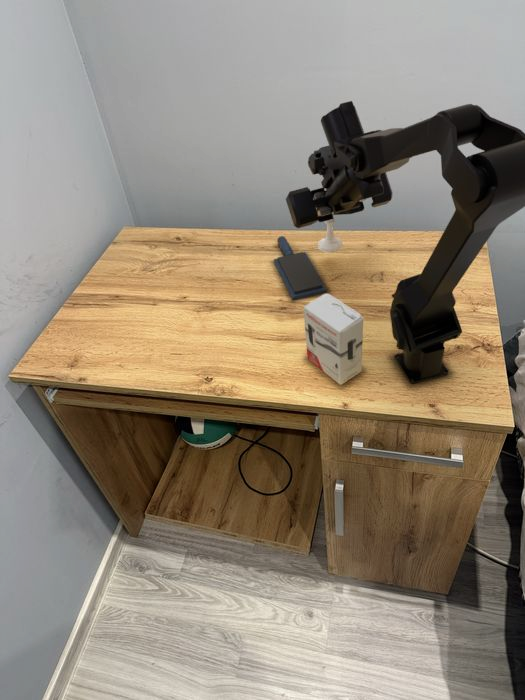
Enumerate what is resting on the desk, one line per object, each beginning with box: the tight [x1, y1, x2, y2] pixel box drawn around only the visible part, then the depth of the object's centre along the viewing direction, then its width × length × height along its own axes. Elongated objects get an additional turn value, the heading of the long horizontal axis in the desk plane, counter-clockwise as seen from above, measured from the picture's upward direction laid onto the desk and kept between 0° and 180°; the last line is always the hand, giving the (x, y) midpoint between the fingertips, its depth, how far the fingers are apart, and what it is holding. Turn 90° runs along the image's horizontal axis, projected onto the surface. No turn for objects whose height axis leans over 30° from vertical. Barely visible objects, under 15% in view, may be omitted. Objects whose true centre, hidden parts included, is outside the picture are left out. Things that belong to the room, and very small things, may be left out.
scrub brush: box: [273, 235, 328, 301], centre depth 104 cm, size 21×7×2 cm, turn 14°
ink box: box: [302, 292, 364, 386], centre depth 79 cm, size 8×5×12 cm, turn 37°
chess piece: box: [317, 212, 344, 254], centre depth 97 cm, size 5×5×10 cm
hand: (326, 213), depth 97 cm, fingers closed on chess piece
